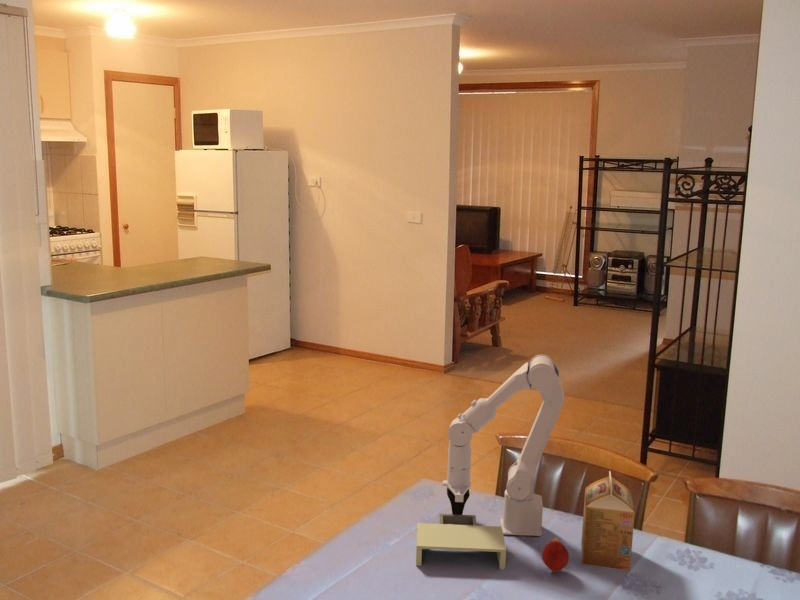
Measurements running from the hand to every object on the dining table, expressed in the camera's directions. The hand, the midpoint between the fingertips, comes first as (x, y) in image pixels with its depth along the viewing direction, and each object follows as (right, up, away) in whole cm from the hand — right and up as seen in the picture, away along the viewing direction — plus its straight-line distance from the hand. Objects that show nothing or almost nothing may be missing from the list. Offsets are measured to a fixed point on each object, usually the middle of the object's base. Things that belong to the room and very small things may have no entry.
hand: (457, 516), depth 194 cm
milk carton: (+33, -5, -15) cm, 37 cm away
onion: (+20, -6, -22) cm, 31 cm away
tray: (0, -3, -6) cm, 7 cm away
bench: (-1, -4, -16) cm, 17 cm away
